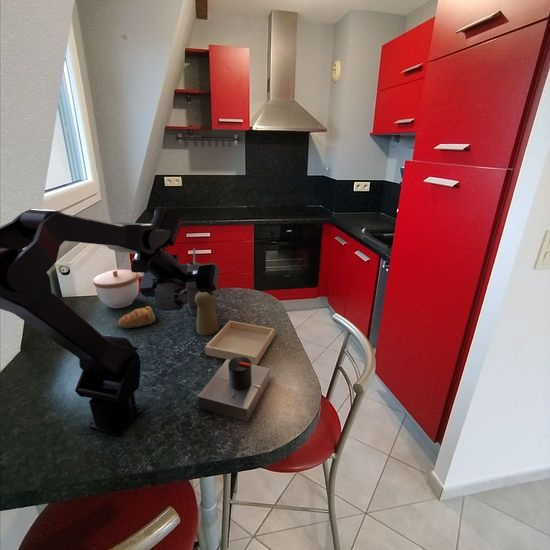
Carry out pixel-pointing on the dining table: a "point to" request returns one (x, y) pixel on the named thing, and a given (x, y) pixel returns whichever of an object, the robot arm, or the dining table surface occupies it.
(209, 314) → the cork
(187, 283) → the beverage cup
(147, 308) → the pastry
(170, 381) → the dining table surface
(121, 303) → the lidded bowl
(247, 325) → the wooden tray
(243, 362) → the stove knob
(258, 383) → the stove panel
